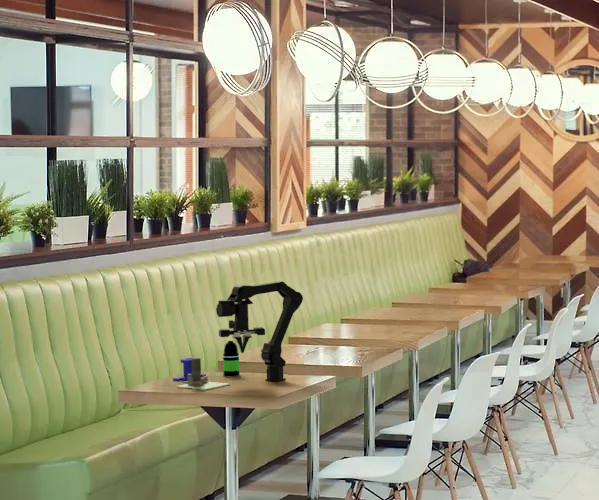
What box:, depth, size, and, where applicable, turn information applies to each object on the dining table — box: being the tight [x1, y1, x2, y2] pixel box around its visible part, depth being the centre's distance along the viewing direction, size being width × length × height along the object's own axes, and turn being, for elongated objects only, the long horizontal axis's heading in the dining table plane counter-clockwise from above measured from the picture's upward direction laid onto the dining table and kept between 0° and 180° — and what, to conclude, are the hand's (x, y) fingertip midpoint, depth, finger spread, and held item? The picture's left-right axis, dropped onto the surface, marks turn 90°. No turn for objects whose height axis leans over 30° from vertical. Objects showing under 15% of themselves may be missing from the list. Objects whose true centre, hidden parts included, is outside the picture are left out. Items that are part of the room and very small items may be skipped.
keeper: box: [187, 373, 205, 385], centre depth 506 cm, size 3×6×5 cm, turn 78°
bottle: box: [222, 340, 241, 377], centre depth 533 cm, size 7×7×15 cm
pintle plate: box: [176, 381, 231, 391], centre depth 505 cm, size 16×15×1 cm
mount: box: [172, 357, 207, 382], centre depth 527 cm, size 15×8×9 cm, turn 153°
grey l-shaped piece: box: [191, 357, 209, 386], centre depth 506 cm, size 14×4×11 cm, turn 171°
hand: (242, 352), depth 508 cm, fingers closed
